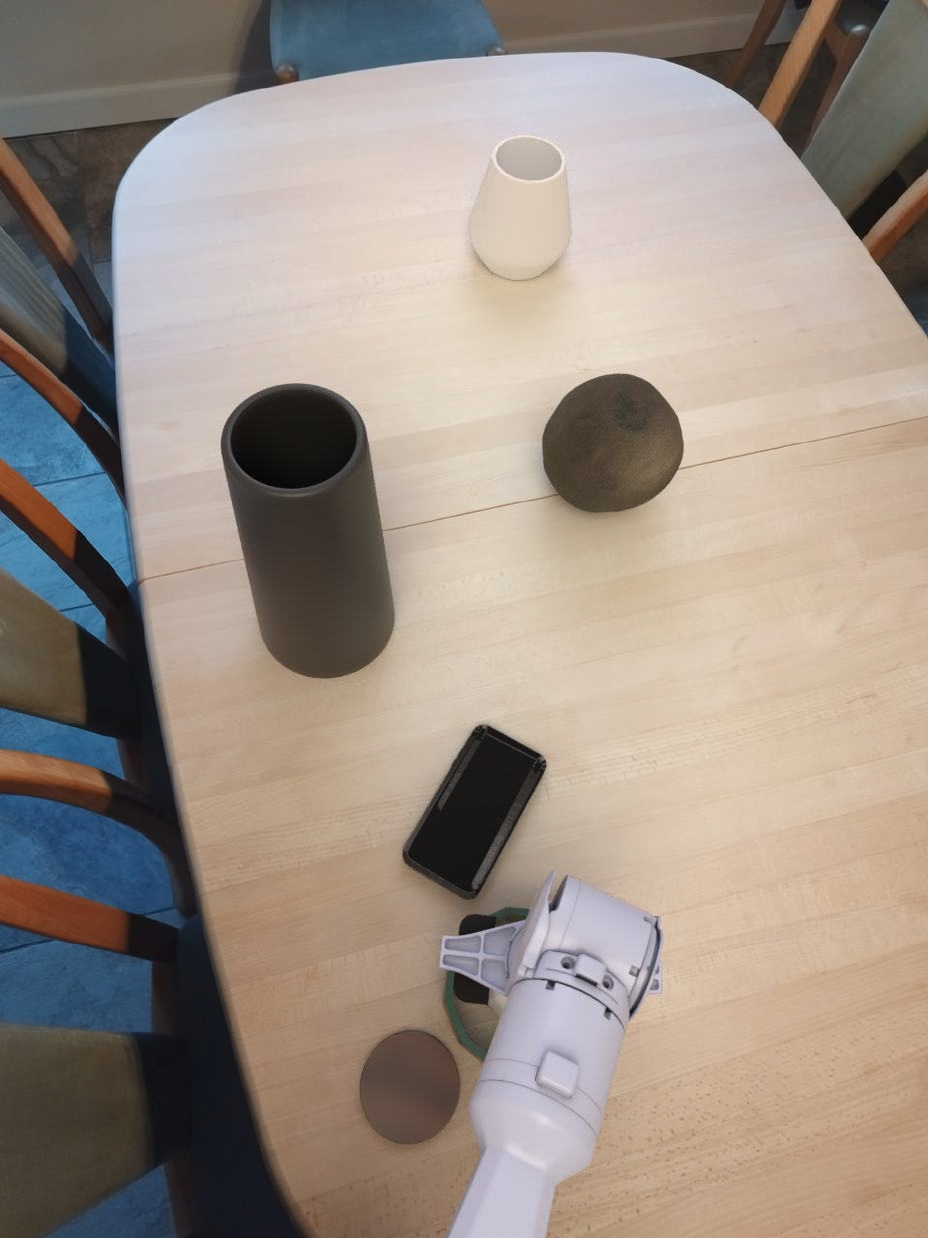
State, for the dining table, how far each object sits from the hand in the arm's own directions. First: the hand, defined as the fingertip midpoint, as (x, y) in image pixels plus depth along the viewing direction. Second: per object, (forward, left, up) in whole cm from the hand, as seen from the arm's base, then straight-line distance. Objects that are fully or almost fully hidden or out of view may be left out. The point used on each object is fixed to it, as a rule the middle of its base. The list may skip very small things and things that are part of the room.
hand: (534, 972), depth 65 cm
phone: (+14, +5, -11) cm, 18 cm away
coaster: (-9, +8, -10) cm, 16 cm away
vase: (+32, +22, -11) cm, 41 cm away
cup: (+88, +7, -11) cm, 89 cm away
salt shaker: (-1, 0, -11) cm, 11 cm away
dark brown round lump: (+52, -5, -11) cm, 54 cm away
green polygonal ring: (-1, 0, -10) cm, 10 cm away
